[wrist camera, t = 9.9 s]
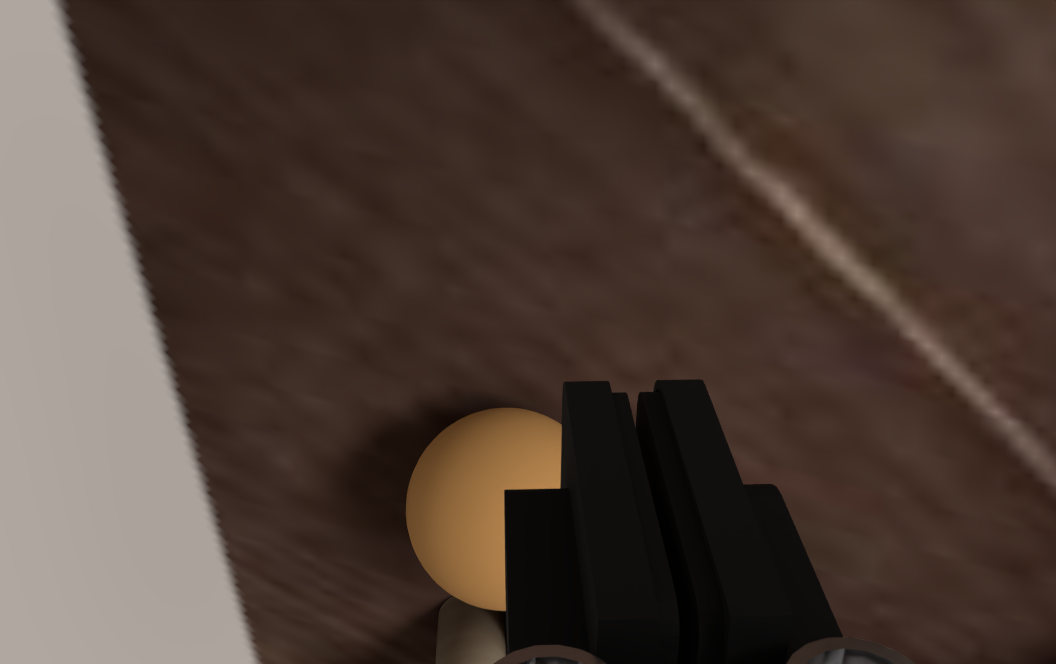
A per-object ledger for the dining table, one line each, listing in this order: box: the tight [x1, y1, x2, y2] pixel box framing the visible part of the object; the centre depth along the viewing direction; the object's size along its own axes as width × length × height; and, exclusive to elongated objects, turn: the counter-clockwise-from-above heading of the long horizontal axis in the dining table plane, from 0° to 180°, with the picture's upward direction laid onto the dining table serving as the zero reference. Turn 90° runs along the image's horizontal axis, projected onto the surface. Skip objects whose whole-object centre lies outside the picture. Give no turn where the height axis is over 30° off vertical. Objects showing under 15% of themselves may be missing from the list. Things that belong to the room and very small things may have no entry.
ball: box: [406, 408, 562, 611], centre depth 30 cm, size 6×6×6 cm
